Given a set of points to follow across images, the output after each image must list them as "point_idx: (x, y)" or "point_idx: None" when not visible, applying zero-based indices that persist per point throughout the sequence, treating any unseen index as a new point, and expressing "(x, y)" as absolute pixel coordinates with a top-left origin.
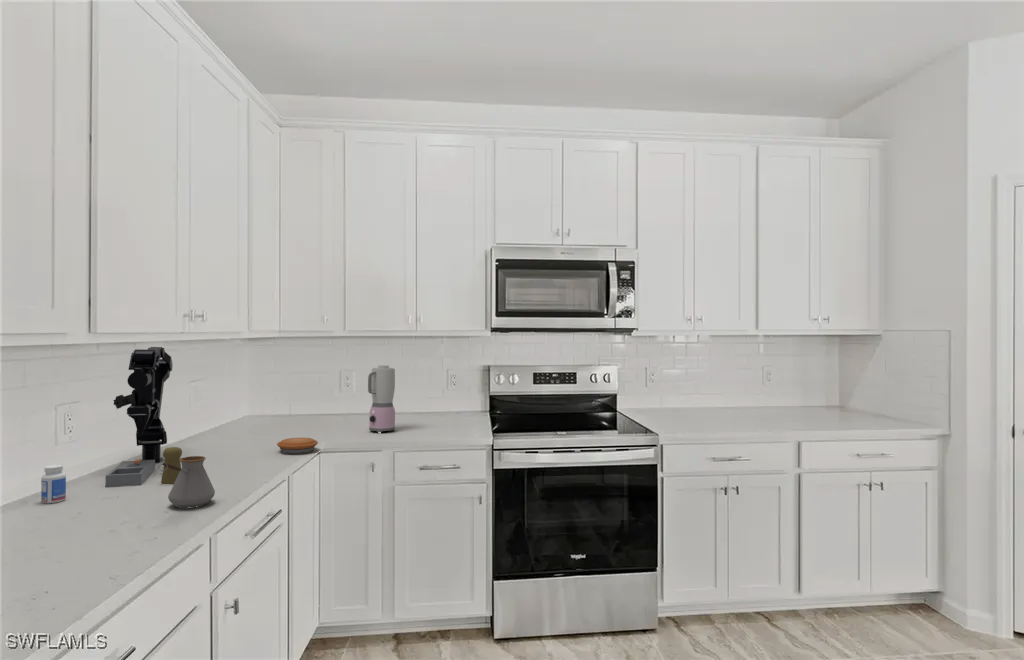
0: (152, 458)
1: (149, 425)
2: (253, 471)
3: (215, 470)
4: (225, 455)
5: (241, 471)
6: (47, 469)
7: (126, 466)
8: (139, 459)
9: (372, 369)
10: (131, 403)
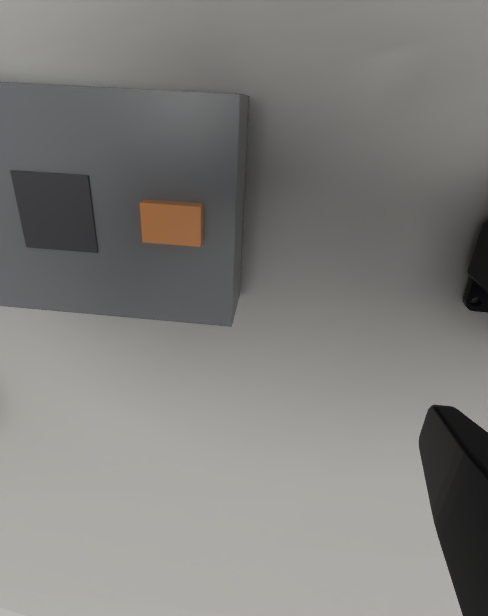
0: (476, 277)
1: (436, 524)
2: (106, 595)
3: (150, 514)
4: None
5: (113, 572)
6: None
7: (21, 166)
8: (196, 237)
9: None
10: None
